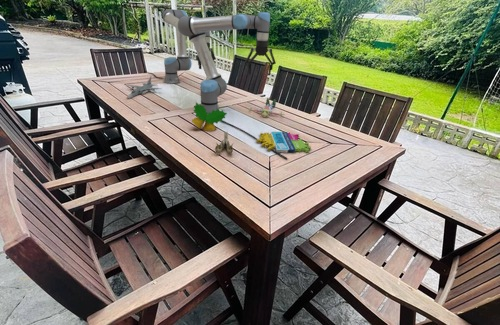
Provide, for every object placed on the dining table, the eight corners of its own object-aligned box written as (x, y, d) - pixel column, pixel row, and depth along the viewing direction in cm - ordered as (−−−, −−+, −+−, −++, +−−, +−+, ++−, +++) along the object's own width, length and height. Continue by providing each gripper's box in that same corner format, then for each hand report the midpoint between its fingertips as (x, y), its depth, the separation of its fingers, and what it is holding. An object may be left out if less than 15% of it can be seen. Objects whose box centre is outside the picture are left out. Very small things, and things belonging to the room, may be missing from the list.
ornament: (218, 133, 171) (224, 110, 169) (221, 134, 163) (227, 111, 161) (186, 125, 162) (192, 101, 160) (189, 126, 155) (195, 101, 153)
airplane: (121, 88, 233) (119, 76, 228) (157, 85, 246) (156, 75, 241) (125, 101, 205) (123, 88, 199) (166, 97, 218) (165, 85, 213)
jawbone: (234, 135, 144) (233, 125, 135) (233, 160, 138) (232, 151, 129) (217, 135, 144) (216, 125, 135) (216, 160, 138) (214, 150, 129)
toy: (288, 100, 208) (284, 110, 182) (287, 109, 211) (283, 120, 186) (254, 96, 213) (245, 105, 187) (254, 104, 216) (245, 115, 190)
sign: (313, 150, 142) (258, 149, 139) (312, 153, 143) (258, 152, 140) (301, 132, 164) (254, 130, 161) (301, 134, 165) (254, 133, 162)
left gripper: (196, 42, 213) (197, 70, 223) (219, 42, 230) (219, 67, 240) (190, 42, 217) (192, 68, 227) (213, 41, 234) (214, 66, 244)
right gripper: (279, 40, 172) (276, 73, 183) (242, 38, 168) (240, 72, 179) (282, 41, 166) (278, 76, 176) (243, 39, 162) (242, 74, 172)
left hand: (206, 68), depth 234 cm, fingers open, 13 cm apart
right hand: (259, 74), depth 177 cm, fingers open, 13 cm apart
